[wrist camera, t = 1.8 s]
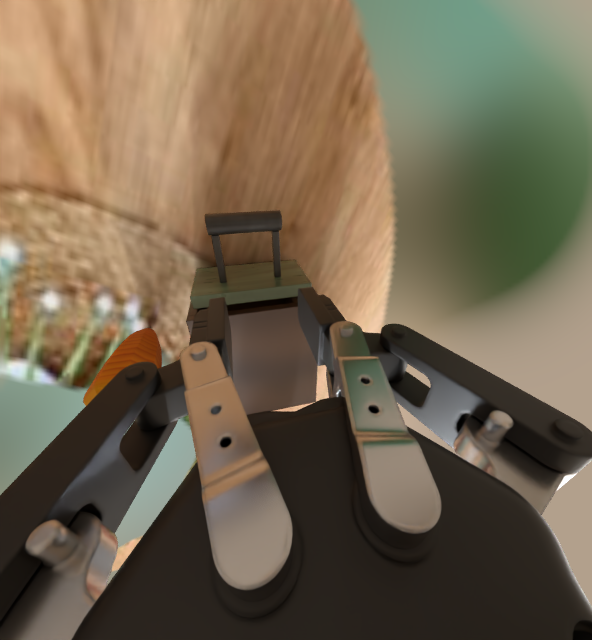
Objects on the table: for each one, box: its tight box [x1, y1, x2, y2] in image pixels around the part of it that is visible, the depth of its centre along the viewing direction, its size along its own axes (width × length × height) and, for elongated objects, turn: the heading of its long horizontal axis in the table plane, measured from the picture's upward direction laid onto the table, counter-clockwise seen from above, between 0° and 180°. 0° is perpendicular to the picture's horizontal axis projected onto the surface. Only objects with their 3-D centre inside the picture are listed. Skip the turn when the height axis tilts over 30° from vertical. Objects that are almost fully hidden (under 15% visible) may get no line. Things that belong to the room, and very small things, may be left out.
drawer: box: [190, 210, 312, 311], centre depth 26 cm, size 18×10×6 cm, turn 1°
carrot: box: [83, 328, 162, 438], centre depth 23 cm, size 5×5×15 cm
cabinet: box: [186, 302, 317, 415], centre depth 29 cm, size 14×12×8 cm
